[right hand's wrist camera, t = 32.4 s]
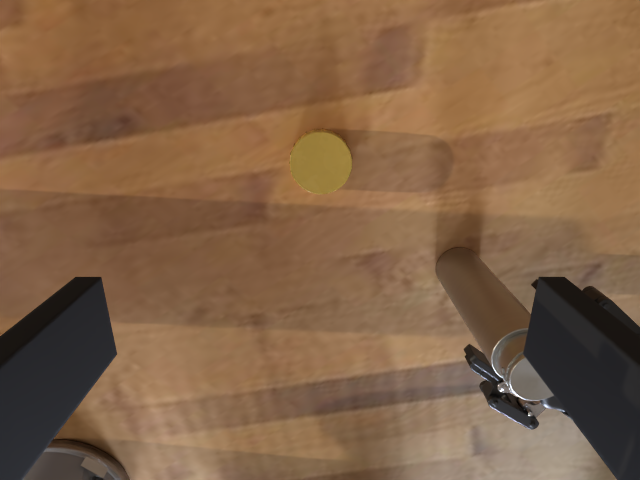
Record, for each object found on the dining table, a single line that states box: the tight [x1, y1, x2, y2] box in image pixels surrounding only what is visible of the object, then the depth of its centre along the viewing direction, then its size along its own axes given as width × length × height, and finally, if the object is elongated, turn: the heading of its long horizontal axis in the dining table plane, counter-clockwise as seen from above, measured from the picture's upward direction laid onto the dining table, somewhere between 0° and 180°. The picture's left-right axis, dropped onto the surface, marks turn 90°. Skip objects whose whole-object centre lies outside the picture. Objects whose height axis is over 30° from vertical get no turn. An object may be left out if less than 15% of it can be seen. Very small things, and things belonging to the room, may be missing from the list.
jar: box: [436, 247, 554, 401], centre depth 34 cm, size 4×4×17 cm
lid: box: [289, 128, 352, 194], centre depth 37 cm, size 6×6×2 cm
